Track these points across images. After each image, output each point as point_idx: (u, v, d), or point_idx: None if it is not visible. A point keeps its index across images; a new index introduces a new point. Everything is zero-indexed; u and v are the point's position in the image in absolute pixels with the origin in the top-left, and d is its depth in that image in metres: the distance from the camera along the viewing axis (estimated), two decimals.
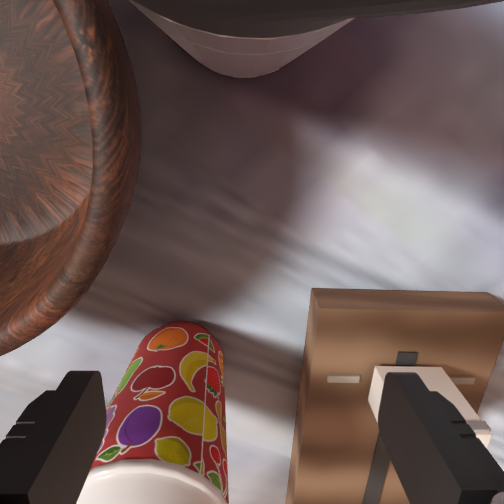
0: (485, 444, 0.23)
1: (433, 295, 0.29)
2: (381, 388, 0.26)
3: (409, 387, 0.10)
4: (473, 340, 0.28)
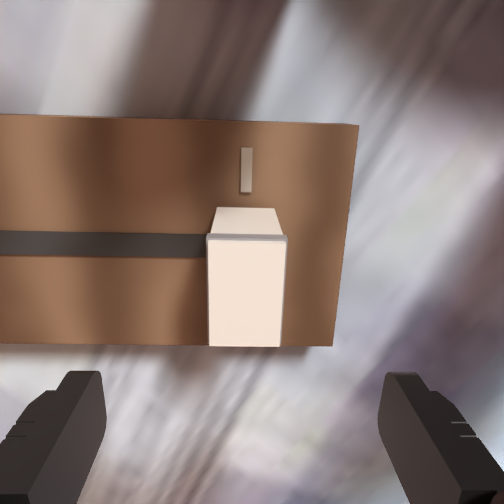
0: (262, 343, 0.17)
1: None
2: (265, 215, 0.20)
3: (409, 387, 0.10)
4: (299, 316, 0.24)
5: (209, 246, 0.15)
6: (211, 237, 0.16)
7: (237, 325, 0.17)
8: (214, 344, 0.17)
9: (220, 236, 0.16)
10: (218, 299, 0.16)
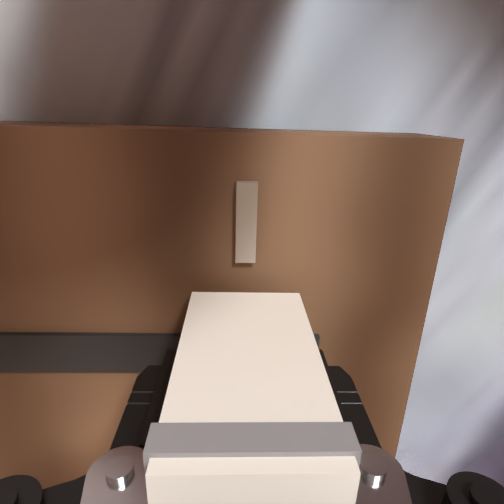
0: None
1: None
2: (286, 321, 0.10)
3: None
4: None
5: (150, 485, 0.06)
6: (157, 450, 0.06)
7: None
8: None
9: (183, 442, 0.06)
10: None
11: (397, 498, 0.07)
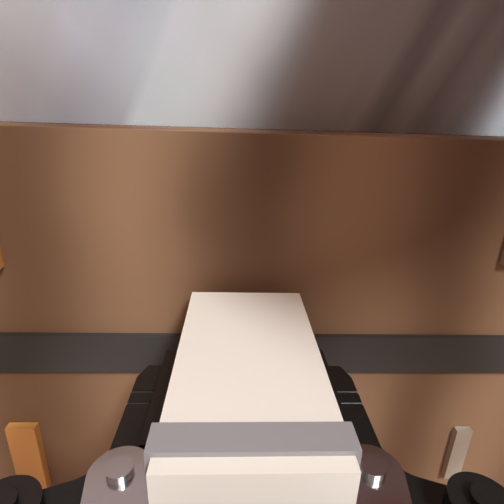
0: None
1: None
2: (286, 321, 0.10)
3: None
4: None
5: (150, 484, 0.06)
6: (158, 449, 0.06)
7: None
8: None
9: (183, 442, 0.06)
10: None
11: (397, 498, 0.07)
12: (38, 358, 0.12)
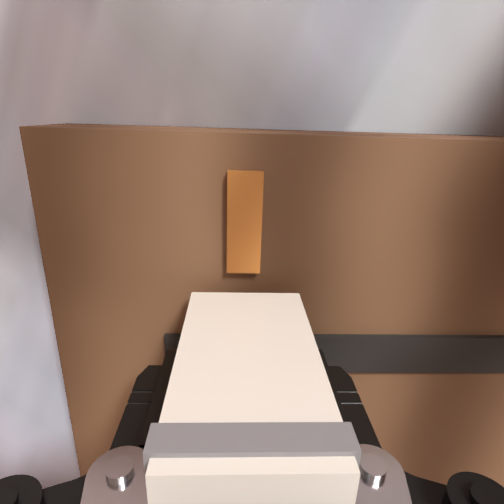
0: None
1: None
2: (286, 321, 0.10)
3: None
4: None
5: (150, 485, 0.06)
6: (157, 450, 0.06)
7: None
8: None
9: (182, 442, 0.06)
10: None
11: (397, 498, 0.07)
12: None
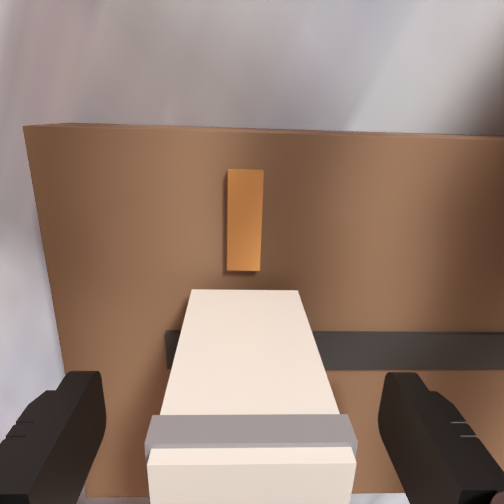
0: None
1: None
2: (285, 318, 0.10)
3: (409, 387, 0.10)
4: None
5: (151, 474, 0.06)
6: (159, 440, 0.06)
7: None
8: None
9: (183, 433, 0.06)
10: None
11: None
12: None
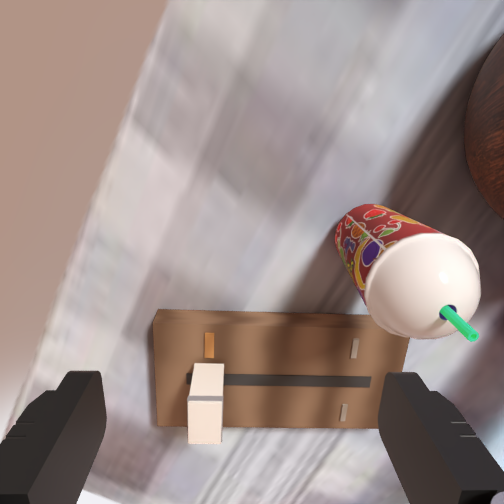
0: (212, 442, 0.37)
1: None
2: (218, 373, 0.39)
3: (409, 387, 0.10)
4: (372, 414, 0.45)
5: (188, 404, 0.35)
6: (189, 399, 0.36)
7: (201, 435, 0.37)
8: (190, 442, 0.37)
9: (193, 398, 0.36)
10: (192, 424, 0.36)
11: None
12: None
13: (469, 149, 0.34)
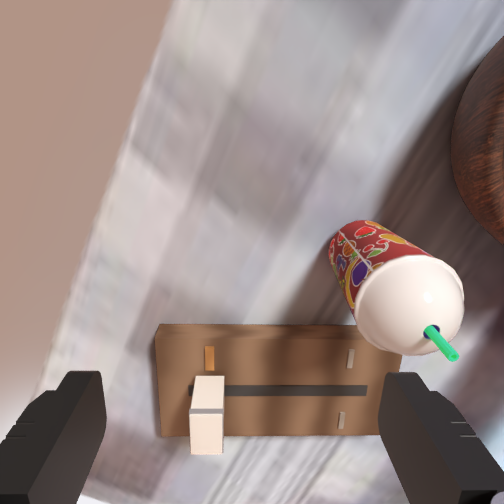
0: (214, 453, 0.39)
1: None
2: (218, 385, 0.41)
3: (409, 387, 0.10)
4: (370, 421, 0.46)
5: (190, 417, 0.37)
6: (191, 412, 0.37)
7: (203, 446, 0.38)
8: (193, 453, 0.39)
9: (194, 411, 0.37)
10: (194, 436, 0.38)
11: None
12: None
13: (455, 168, 0.35)
